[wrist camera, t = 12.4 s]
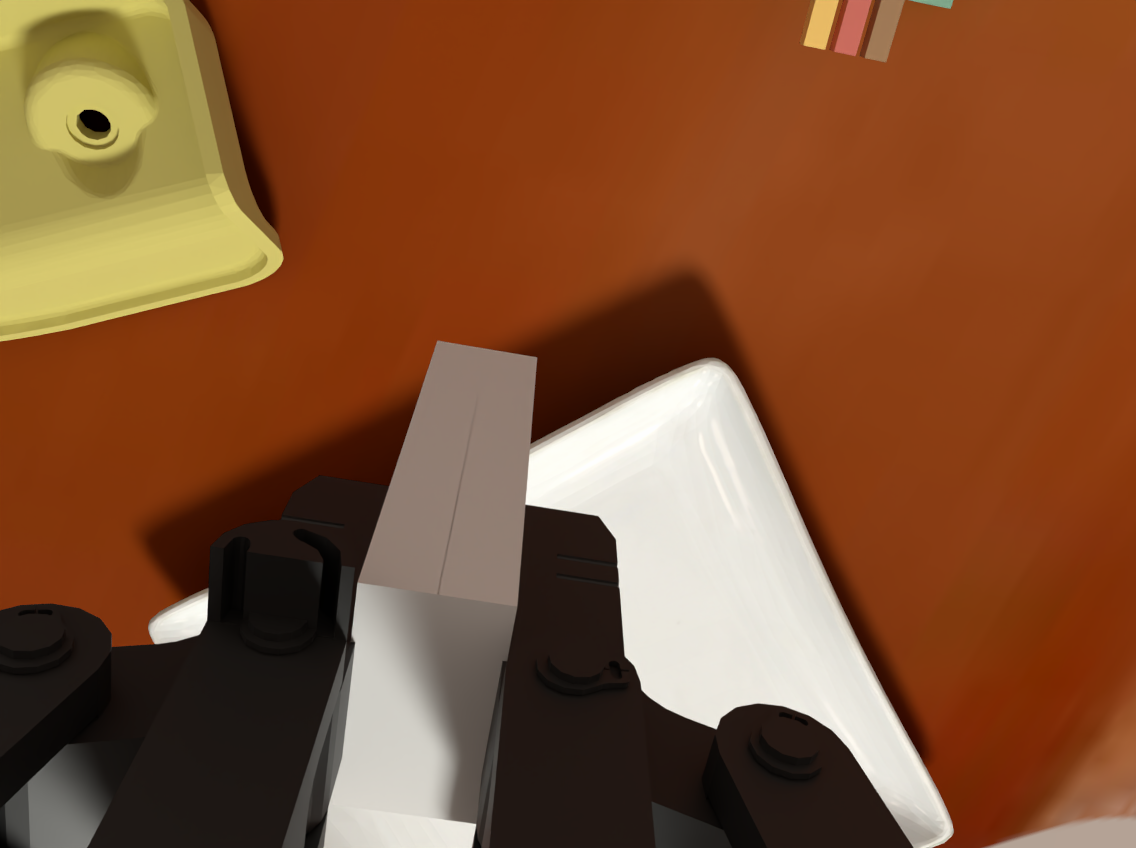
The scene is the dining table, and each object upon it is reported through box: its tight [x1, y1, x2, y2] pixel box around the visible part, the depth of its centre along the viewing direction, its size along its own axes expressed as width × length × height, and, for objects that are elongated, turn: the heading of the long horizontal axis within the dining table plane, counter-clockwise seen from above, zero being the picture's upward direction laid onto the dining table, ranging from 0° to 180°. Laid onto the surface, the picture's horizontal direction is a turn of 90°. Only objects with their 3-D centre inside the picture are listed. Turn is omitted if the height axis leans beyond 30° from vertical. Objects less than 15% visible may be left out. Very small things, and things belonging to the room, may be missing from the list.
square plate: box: [148, 358, 954, 848], centre depth 49 cm, size 27×27×4 cm
